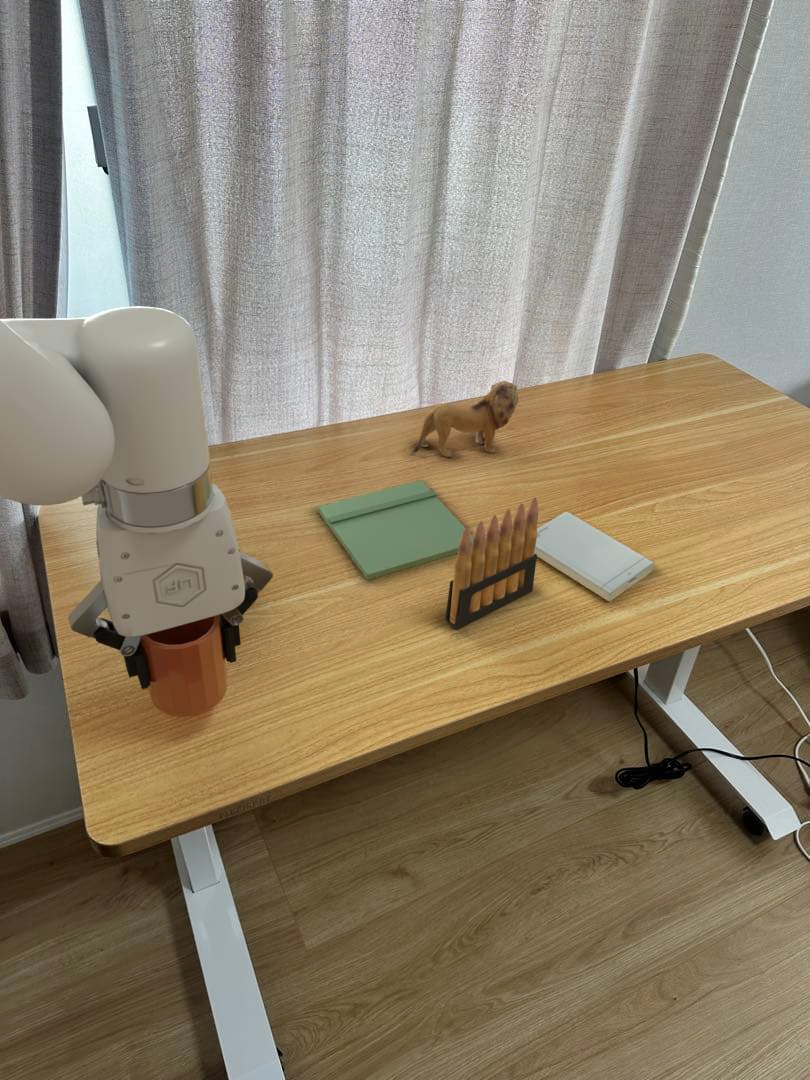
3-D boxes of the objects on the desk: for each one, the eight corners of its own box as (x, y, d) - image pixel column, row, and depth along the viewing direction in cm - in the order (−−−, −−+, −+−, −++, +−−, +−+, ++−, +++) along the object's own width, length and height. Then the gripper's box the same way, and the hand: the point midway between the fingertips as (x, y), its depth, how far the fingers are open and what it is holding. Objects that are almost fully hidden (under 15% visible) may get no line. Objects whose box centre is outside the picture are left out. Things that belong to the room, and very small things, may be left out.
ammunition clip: (456, 630, 81) (465, 536, 74) (444, 620, 82) (452, 526, 75) (532, 591, 87) (548, 499, 79) (520, 581, 88) (535, 490, 80)
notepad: (367, 580, 87) (367, 572, 86) (318, 511, 97) (317, 504, 96) (478, 547, 92) (478, 539, 92) (421, 485, 102) (421, 478, 101)
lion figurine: (502, 431, 114) (510, 372, 108) (519, 449, 110) (528, 390, 104) (405, 446, 109) (407, 386, 104) (419, 466, 106) (422, 405, 100)
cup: (160, 727, 66) (147, 658, 61) (142, 674, 71) (129, 606, 66) (237, 702, 69) (230, 634, 64) (215, 653, 73) (207, 586, 69)
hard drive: (521, 536, 92) (610, 591, 84) (567, 509, 96) (656, 560, 89) (520, 547, 93) (608, 603, 85) (565, 521, 97) (652, 571, 90)
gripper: (35, 544, 51) (86, 729, 62) (292, 488, 58) (298, 663, 69) (20, 485, 57) (70, 665, 67) (258, 439, 63) (268, 609, 74)
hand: (185, 663), depth 68 cm, fingers closed on cup, 6 cm apart
